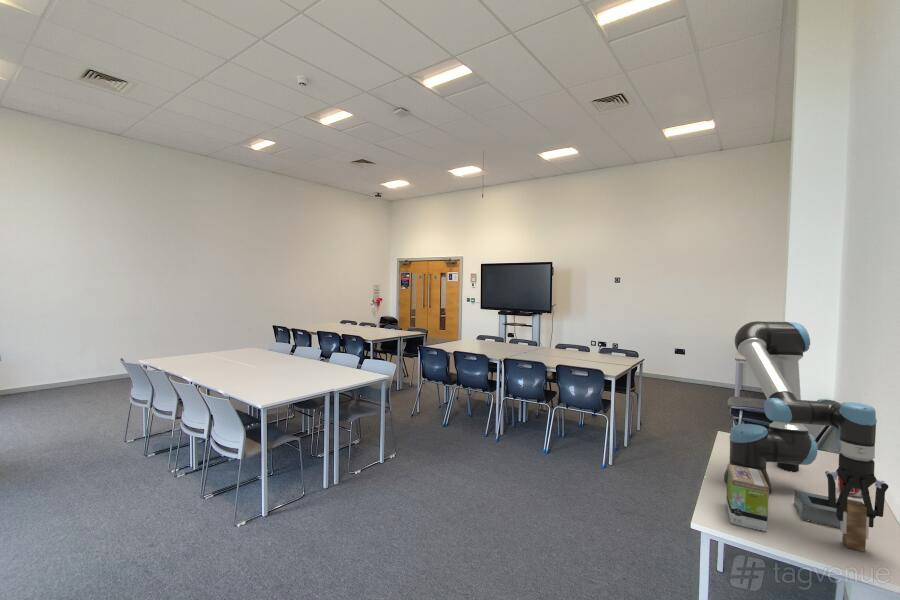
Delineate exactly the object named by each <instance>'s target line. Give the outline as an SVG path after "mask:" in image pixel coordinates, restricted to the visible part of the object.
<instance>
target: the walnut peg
mask: <svg viewBox="0 0 900 600" xmlns="http://www.w3.org/2000/svg"><path fill="white" fill-rule="evenodd" d="M844 509H845V510H846V512H847V533H846V534H843V533H842V542H843V544H844V546H846V548H847V549H852V550H856V551H859V552H865V553H866V549H867V548H866V545H867V544H866V543H867V539H866V517H867V508H866V506H865V505H864V502H863V501H860V500H854V499H849V498H848V499H847V502H846V505H845V508H844Z"/></svg>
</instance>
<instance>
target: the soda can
mask: <svg viewBox="0 0 900 600" xmlns="http://www.w3.org/2000/svg"><path fill="white" fill-rule="evenodd" d="M842 483H843V481H842V480H841V478H840V477H839V476H837V487H838V490H839V491H841V488H842ZM853 496H854V497H853ZM859 496H860V497H862V494H861V490H860V489H858V488H852V489H851V491H850V493H849V496H848V497H853V498H859Z"/></svg>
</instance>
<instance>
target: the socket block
mask: <svg viewBox="0 0 900 600" xmlns="http://www.w3.org/2000/svg"><path fill="white" fill-rule="evenodd" d="M793 496H794V498H793V499H794V507H795V508H796V510H797V512H799V513H798V515H799V514H800V515H799V517H800V516H801V517H800V519H801V518H802V519H805V520H804V521H806V520H809V521H808V522H810V521H813V522H812V523H814V522H817V523H816V524H819V523H821V525H823V524H825V526H828V525H829V527H832V526H833V528H838V529H840V524H841V521H839V520H838V519H837V517H836V508H835V507H832V506H831V505H830V504H829V502H828V495H822V494H816V493H812V492H806V491H801V490H797V489H795V490H794V495H793ZM837 500H838V497H837V498H836V503H837ZM802 519H801V520H802Z"/></svg>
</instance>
